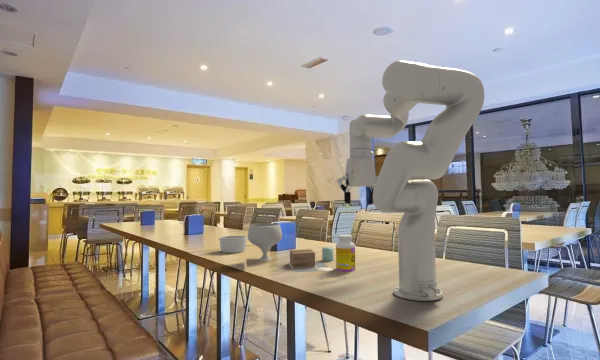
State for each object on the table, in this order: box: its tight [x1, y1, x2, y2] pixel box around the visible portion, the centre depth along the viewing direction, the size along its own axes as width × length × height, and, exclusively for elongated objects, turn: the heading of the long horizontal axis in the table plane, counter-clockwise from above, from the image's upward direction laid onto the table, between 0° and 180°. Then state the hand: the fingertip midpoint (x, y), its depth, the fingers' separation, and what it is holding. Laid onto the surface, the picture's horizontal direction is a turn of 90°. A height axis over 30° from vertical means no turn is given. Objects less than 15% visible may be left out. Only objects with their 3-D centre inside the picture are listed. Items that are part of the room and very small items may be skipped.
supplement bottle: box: [335, 234, 356, 272], centre depth 121 cm, size 7×7×13 cm
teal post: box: [321, 246, 334, 262], centre depth 137 cm, size 4×4×6 cm
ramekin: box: [218, 235, 248, 254], centre depth 169 cm, size 13×13×7 cm
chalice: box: [247, 223, 283, 262], centre depth 141 cm, size 14×14×15 cm
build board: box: [288, 261, 334, 273], centre depth 125 cm, size 17×14×1 cm
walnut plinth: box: [289, 248, 316, 268], centre depth 129 cm, size 8×8×5 cm
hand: (360, 203), depth 123 cm, fingers open, 9 cm apart
